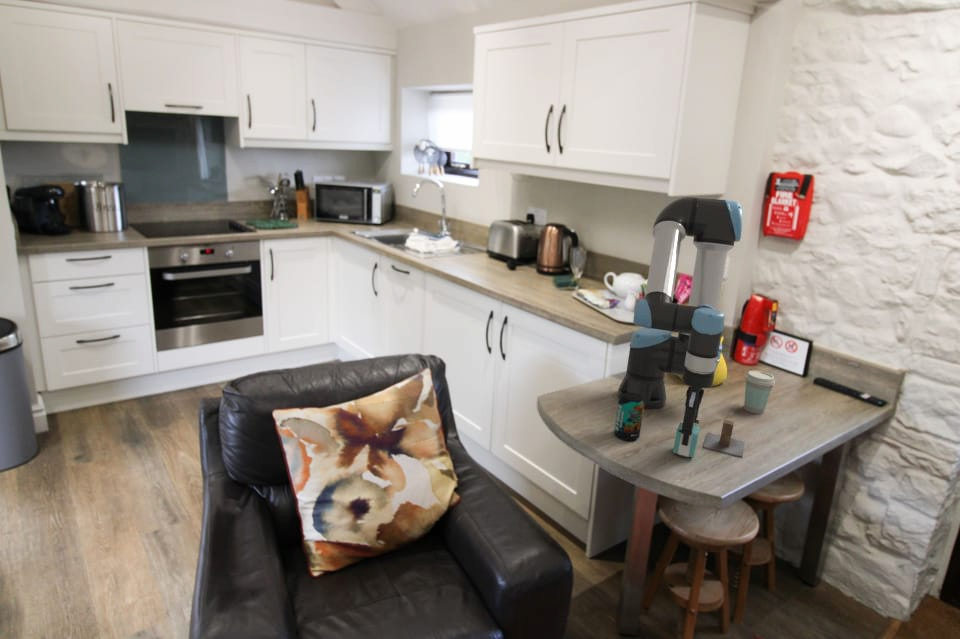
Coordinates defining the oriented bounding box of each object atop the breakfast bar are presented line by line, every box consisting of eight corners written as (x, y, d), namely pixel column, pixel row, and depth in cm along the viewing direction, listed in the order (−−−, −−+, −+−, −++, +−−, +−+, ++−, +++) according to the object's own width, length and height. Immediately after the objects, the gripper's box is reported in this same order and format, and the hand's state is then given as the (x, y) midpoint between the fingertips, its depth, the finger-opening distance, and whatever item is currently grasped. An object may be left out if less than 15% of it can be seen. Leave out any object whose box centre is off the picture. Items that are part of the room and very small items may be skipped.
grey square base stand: (703, 447, 171) (707, 424, 169) (707, 433, 180) (711, 411, 178) (742, 457, 167) (747, 434, 165) (744, 442, 176) (749, 420, 174)
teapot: (695, 363, 238) (701, 329, 234) (740, 378, 226) (747, 342, 222) (659, 377, 222) (665, 340, 218) (706, 393, 209) (713, 355, 205)
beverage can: (639, 443, 171) (646, 403, 167) (613, 440, 172) (619, 399, 168) (638, 432, 177) (644, 393, 174) (613, 428, 178) (618, 390, 175)
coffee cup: (771, 417, 194) (779, 381, 191) (742, 413, 195) (749, 377, 192) (764, 406, 202) (772, 371, 199) (737, 402, 204) (744, 368, 200)
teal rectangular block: (673, 452, 165) (676, 429, 163) (676, 444, 170) (680, 422, 168) (693, 457, 163) (697, 435, 161) (696, 449, 168) (700, 427, 166)
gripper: (710, 384, 150) (694, 469, 157) (718, 361, 166) (703, 439, 173) (678, 377, 153) (664, 461, 160) (689, 355, 169) (676, 432, 176)
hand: (684, 449), depth 167 cm, fingers closed on teal rectangular block, 5 cm apart
